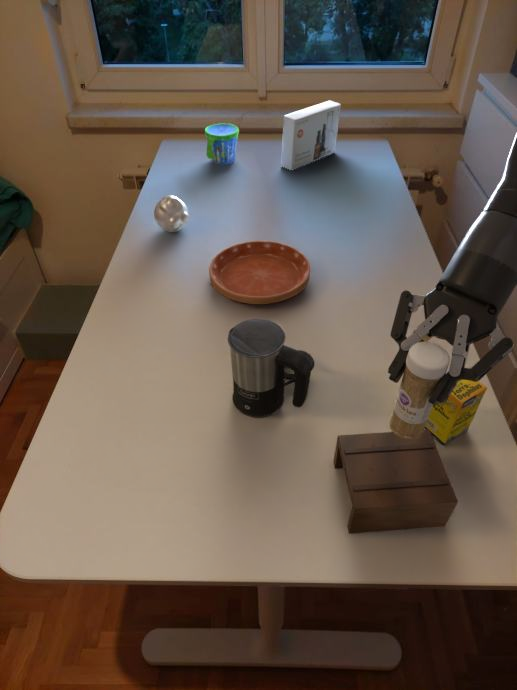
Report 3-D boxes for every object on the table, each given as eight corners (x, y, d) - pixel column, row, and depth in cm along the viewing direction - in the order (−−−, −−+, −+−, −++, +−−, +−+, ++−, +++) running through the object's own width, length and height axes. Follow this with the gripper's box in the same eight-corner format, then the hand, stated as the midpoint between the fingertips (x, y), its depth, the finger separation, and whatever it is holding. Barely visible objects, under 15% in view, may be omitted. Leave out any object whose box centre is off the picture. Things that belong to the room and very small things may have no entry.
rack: (419, 456, 80) (429, 428, 75) (445, 526, 72) (458, 500, 67) (333, 461, 80) (337, 434, 75) (348, 534, 71) (354, 508, 66)
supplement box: (444, 447, 82) (462, 404, 74) (416, 423, 85) (431, 379, 78) (468, 431, 84) (488, 387, 76) (441, 408, 88) (457, 364, 80)
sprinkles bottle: (381, 426, 66) (400, 352, 56) (402, 407, 68) (424, 334, 59) (411, 447, 63) (436, 374, 54) (431, 427, 65) (458, 354, 56)
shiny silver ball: (154, 240, 129) (148, 204, 122) (158, 221, 136) (153, 186, 129) (189, 239, 129) (185, 203, 122) (192, 220, 136) (188, 185, 129)
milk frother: (227, 415, 87) (222, 353, 77) (241, 352, 98) (239, 291, 88) (309, 423, 85) (315, 362, 75) (314, 359, 97) (320, 298, 87)
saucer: (189, 280, 116) (188, 267, 113) (259, 242, 128) (259, 229, 125) (260, 325, 104) (260, 311, 101) (329, 279, 116) (331, 265, 113)
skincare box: (292, 172, 157) (294, 119, 147) (280, 166, 160) (281, 115, 150) (336, 153, 168) (341, 103, 157) (324, 148, 171) (328, 99, 160)
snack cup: (221, 173, 157) (219, 140, 150) (195, 165, 162) (192, 133, 155) (250, 156, 167) (249, 124, 160) (225, 149, 171) (223, 118, 164)
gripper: (425, 228, 57) (351, 359, 59) (554, 278, 50) (465, 424, 52) (437, 249, 64) (370, 366, 65) (553, 296, 56) (474, 426, 58)
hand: (412, 391), depth 59 cm, fingers closed on sprinkles bottle, 4 cm apart
